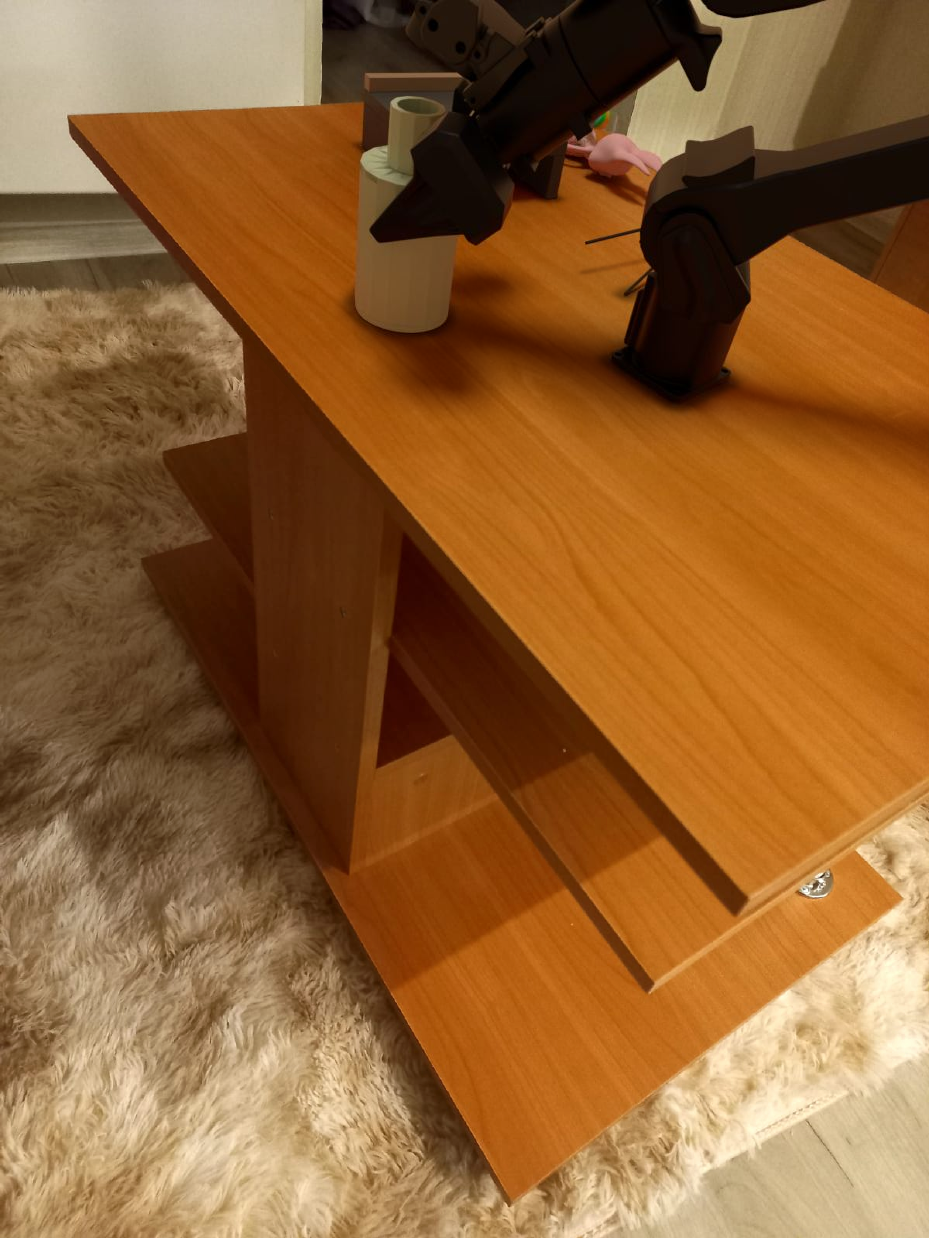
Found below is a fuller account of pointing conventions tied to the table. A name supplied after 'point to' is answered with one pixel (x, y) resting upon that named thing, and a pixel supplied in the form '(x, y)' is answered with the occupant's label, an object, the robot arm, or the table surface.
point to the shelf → (441, 90)
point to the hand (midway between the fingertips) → (389, 213)
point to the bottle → (410, 269)
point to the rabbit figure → (612, 152)
